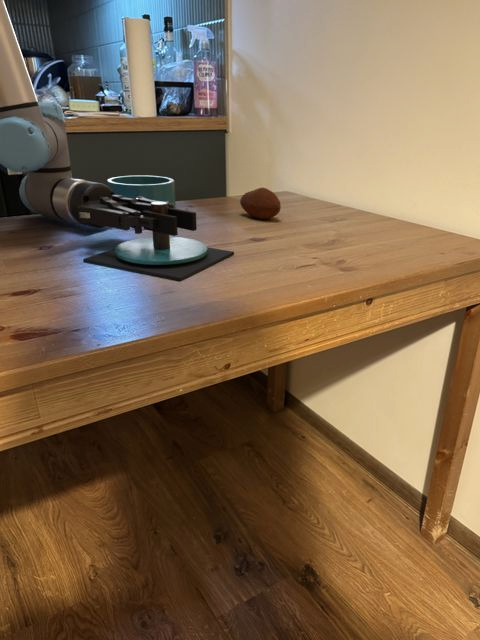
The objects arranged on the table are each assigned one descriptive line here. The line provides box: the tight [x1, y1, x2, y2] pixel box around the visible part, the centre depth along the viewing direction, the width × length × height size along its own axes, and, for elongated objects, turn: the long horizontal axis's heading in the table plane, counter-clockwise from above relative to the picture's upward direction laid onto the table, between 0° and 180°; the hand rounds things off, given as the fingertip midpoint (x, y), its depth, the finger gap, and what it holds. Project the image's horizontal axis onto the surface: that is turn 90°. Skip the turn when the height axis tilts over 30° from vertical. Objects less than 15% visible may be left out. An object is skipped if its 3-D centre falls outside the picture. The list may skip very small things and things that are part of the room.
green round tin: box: [106, 175, 177, 209], centre depth 106 cm, size 14×14×8 cm
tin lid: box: [115, 202, 209, 265], centre depth 78 cm, size 15×15×8 cm
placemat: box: [82, 246, 235, 282], centre depth 80 cm, size 18×16×1 cm
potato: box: [239, 187, 282, 220], centre depth 109 cm, size 6×12×6 cm, turn 47°
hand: (185, 224), depth 75 cm, fingers open, 3 cm apart
